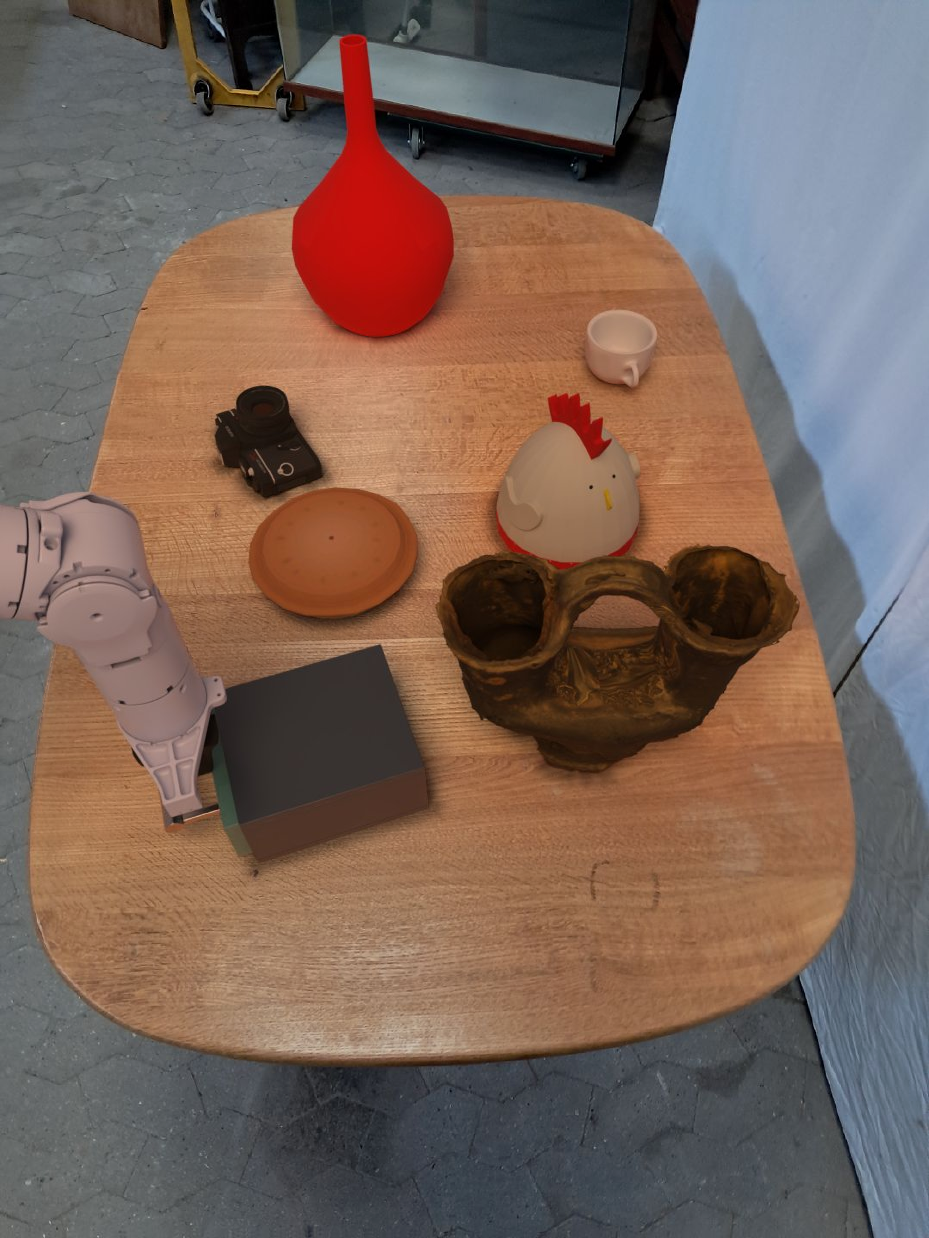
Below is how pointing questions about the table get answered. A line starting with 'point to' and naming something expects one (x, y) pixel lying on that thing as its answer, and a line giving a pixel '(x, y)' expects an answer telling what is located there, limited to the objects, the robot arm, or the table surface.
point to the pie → (333, 552)
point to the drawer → (214, 806)
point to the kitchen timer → (570, 490)
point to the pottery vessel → (608, 645)
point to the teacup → (620, 346)
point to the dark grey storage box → (319, 753)
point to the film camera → (265, 442)
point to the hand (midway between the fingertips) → (197, 767)
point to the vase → (371, 225)
